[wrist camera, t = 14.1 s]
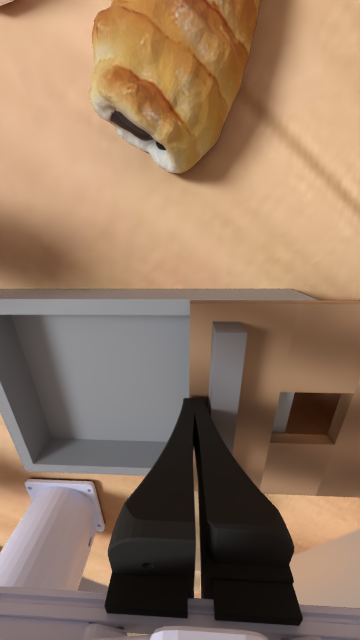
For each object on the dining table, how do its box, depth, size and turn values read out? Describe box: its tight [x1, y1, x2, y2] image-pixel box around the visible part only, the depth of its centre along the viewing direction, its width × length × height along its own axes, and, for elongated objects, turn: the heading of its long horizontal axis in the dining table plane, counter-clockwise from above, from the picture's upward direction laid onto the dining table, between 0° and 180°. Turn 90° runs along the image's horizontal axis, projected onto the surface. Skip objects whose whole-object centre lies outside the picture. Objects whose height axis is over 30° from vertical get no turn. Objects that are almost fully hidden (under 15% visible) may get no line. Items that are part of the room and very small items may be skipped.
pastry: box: [89, 0, 261, 174], centre depth 9 cm, size 9×7×4 cm
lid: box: [189, 300, 360, 497], centre depth 13 cm, size 16×22×2 cm
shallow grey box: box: [0, 289, 317, 476], centre depth 16 cm, size 16×22×3 cm
